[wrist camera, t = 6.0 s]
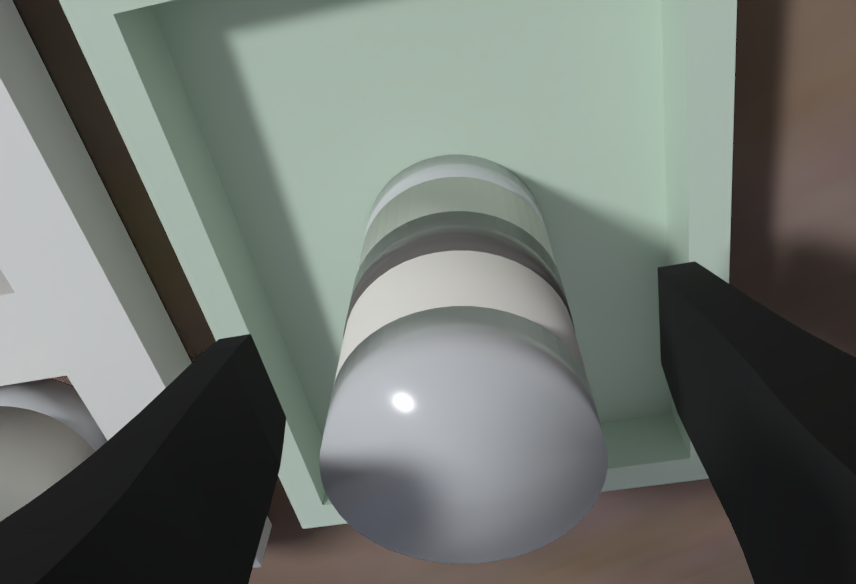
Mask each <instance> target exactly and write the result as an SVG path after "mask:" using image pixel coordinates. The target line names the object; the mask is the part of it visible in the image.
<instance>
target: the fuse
mask: <svg viewBox="0 0 856 584" xmlns="http://www.w3.org/2000/svg"><path fill="white" fill-rule="evenodd" d="M106 442H107V439H106V437H105V436H104V434H103V433H102V431H101V429H100V428H99V426H98V425H97V423H96V421H95V420H94V418H93V417H92V415H91V413H90V412H89V410H88V409H87V407H86V405H85V404H84V402H83V401H82V399H81V397H80V396H79V394H78V393H77V391H76V389H75V388H74V387H72V386H70V385H67V384H65V383H62V382H59V381H56V380H52V379H48V378H47V379H41V380H35V381H29V382H22V383H16V384H10V385H4V386H0V521H2V520H3V519H5V518H6V517H8V516H9V515H11V514H12V513H14V512H15V511H17V510H18V509H20V508H21V507H23V506H25V505H26V504H28V503H29V502H30V501H32V500H33V499H35V498H36V497H37V496H39V495H40V494H42V493H43V492H44V491H46V490H47V489H48V488H50V487H51V486H52V485H54V484H55V483H56V482H58V481H59V480H60V479H62V478H63V477H64V476H66V475H67V474H68V473H70V472H71V471H72V470H73V469H75V468H76V467H77V466H78V465H80V464H81V463H82V462H83V461H85V460H86V459H87V458H88V457H90V456H91V455H92V454H93V453H94V452H96V451H97V450H98V449H99V448H100V447H101V446H102V445H104V444H105V443H106Z"/></svg>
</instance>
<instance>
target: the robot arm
mask: <svg viewBox="0 0 856 584" xmlns="http://www.w3.org/2000/svg"><path fill="white" fill-rule="evenodd" d="M658 296H659V324H660V352H661V365H662V368H663V371H664V374H665V377H666V380H667V383H668V387H669V390H670V393H671V396H672V399H673V401H674V404H675V407H676V410H677V413H678V415H679V417H680V419H681V421H682V424H683V426H684V428H685V430H686V432H687V434H688V436H689V438H690V440H691V442H692V444H693V447H694V449H695V451H696V453H697V455H698V457H699V459H700V461H701V463H702V465H703V467H704V469H705V471H706V473H707V475H708V477H709V479H710V481H711V483H712V485H713V487H714V490H715V492H716V494H717V496H718V498H719V500H720V502H721V504H722V506H723V508H724V510H725V512H726V514H727V516H728V518H729V520H730V522H731V524H732V527H733V529H734V531H735V534H736V536H737V538H738V541H739V543H740V545H741V548H742V550H743V553H744V556H745V558H746V561H747V564H748V566H749V569H750V572H751V575H752V577H753V580H754V583H755V584H856V358H855V357H853V356H851V355H849V354H847V353H845V352H843V351H841V350H839V349H837V348H835V347H834V346H832V345H830V344H828V343H826V342H824V341H822V340H821V339H819V338H817V337H815V336H813V335H811V334H809V333H808V332H806V331H804V330H802V329H800V328H799V327H797V326H795V325H794V324H792V323H790V322H788V321H787V320H785V319H783V318H782V317H780V316H778V315H777V314H775V313H773V312H772V311H770V310H769V309H767V308H765V307H764V306H762V305H761V304H759V303H757V302H756V301H754V300H753V299H751V298H750V297H748V296H747V295H745V294H744V293H742V292H741V291H739V290H738V289H736V288H735V287H733V286H731V285H730V284H728V283H727V282H726V281H724V280H723V279H721V278H720V277H718V276H717V275H715V274H714V273H712V272H711V271H709V270H708V269H706V268H705V267H703V266H702V265H700V264H698V263H697V262H695V261H694V262H688V263H682V264H676V265H670V266H664V267H658ZM285 425H286V415H285V413H284V411H283V408H282V406H281V404H280V401H279V399H278V397H277V394H276V392H275V390H274V387H273V385H272V383H271V380H270V378H269V376H268V373H267V371H266V368H265V366H264V364H263V361H262V359H261V357H260V354H259V352H258V350H257V347H256V345H255V343H254V340H253V338H252V336H251V334H247V335H241V336H235V337H229V338H223V339H219V340H217V341H216V342H215V343H214V344H212V345H211V346H210V347H209V348H208V349H207V350H205V351H204V352H203V353H202V354H201V355H200V356H199V357H198V358H197V359H196V360H194V361H193V362H192V363H191V364H190V365H189V366H188V367H187V368H186V369H185V370H184V371H183V372H182V373H181V374H180V375H179V376H178V377H177V378H176V379H175V380H173V381H172V382H171V383H170V384H169V385H168V386H167V387H166V388H165V389H164V390H163V391H162V392H161V393H160V394H159V395H158V396H157V397H156V398H155V399H153V400H152V401H151V402H150V403H149V404H148V405H147V406H146V407H145V408H144V409H143V410H142V411H141V412H140V413H139V414H138V415H136V416H135V417H134V418H133V419H132V420H131V421H130V422H128V423H127V424H126V425H125V426H124V427H123V428H122V429H121V430H119V431H118V432H117V433H116V434H115V435H114V436H113V437H111V438H110V439H109V440H108V441H107V442H106V443H105V444H104V445H102V446H101V447H100V448H99V449H98V450H97V451H96V452H94V453H93V454H92V455H91V456H90V457H88V458H87V459H86V460H85V461H83V462H82V463H81V464H80V465H78V466H77V467H76V468H75V469H73V470H72V471H71V472H70V473H68V474H67V475H66V476H64V477H63V478H62V479H60V480H59V481H58V482H56V483H55V484H54V485H52V486H51V487H50V488H48V489H47V490H46V491H44V492H43V493H42V494H40V495H39V496H37V497H36V498H35V499H33V500H32V501H30V502H29V503H28V504H26V505H25V506H23V507H21V508H20V509H18V510H17V511H15V512H14V513H12V514H11V515H9V516H8V517H6V518H5V519H3V520H2V521H0V584H248V583H249V578H250V575H251V571H252V568H253V564H254V560H255V557H256V553H257V550H258V546H259V543H260V539H261V535H262V532H263V528H264V525H265V521H266V518H267V514H268V511H269V507H270V503H271V500H272V496H273V492H274V488H275V485H276V481H277V477H278V473H279V469H280V465H281V458H282V451H283V443H284V434H285Z"/></svg>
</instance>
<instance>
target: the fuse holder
mask: <svg viewBox="0 0 856 584" xmlns="http://www.w3.org/2000/svg"><path fill="white" fill-rule="evenodd" d="M191 363H192V362H191V360H190V358H189V356H188V354H187V352H186V350H185V348H184V346H183V344H182V342H181V340H180V338H179V336H178V334H177V332H176V330H175V328H174V326H173V324H172V322H171V320H170V318H169V316H168V314H167V312H166V310H165V308H164V306H163V304H162V302H161V300H160V298H159V296H158V294H157V292H156V290H155V288H154V286H153V284H152V282H151V280H150V277H149V275H148V273H147V271H146V269H145V267H144V265H143V263H142V261H141V259H140V257H139V255H138V253H137V251H136V249H135V247H134V245H133V243H132V241H131V239H130V237H129V235H128V233H127V231H126V229H125V227H124V225H123V223H122V221H121V219H120V217H119V215H118V213H117V211H116V209H115V207H114V205H113V203H112V201H111V199H110V197H109V195H108V193H107V191H106V189H105V187H104V185H103V183H102V181H101V179H100V177H99V174H98V172H97V170H96V168H95V166H94V164H93V162H92V160H91V158H90V156H89V154H88V152H87V150H86V148H85V146H84V144H83V142H82V140H81V138H80V136H79V134H78V132H77V130H76V128H75V126H74V124H73V122H72V120H71V118H70V116H69V114H68V112H67V110H66V108H65V106H64V104H63V102H62V100H61V98H60V96H59V94H58V92H57V90H56V88H55V86H54V84H53V82H52V80H51V78H50V76H49V73H48V71H47V69H46V67H45V65H44V63H43V61H42V59H41V57H40V55H39V53H38V51H37V49H36V47H35V45H34V43H33V41H32V39H31V37H30V35H29V33H28V31H27V29H26V27H25V25H24V23H23V21H22V19H21V17H20V15H19V13H18V11H17V9H16V7H15V5H14V3H13V1H12V0H0V386H4V385H10V384H16V383H22V382H29V381H35V380H41V379H47V378H54V377H60V376H66V375H67V377H68V378H69V380H70V381H71V383H72V385H73V386H74V388H75V389H76V391H77V393H78V394H79V396H80V397H81V399H82V401H83V402H84V404H85V405H86V407H87V409H88V410H89V412H90V413H91V415H92V417H93V418H94V420H95V421H96V423H97V425H98V426H99V428H100V429H101V431H102V433H103V434H104V436H105V437H106V439H107V441H108V440H109V439H110V438H111V437H113V436H114V435H115V434H116V433H117V432H118V431H119V430H121V429H122V428H123V427H124V426H125V425H126V424H127V423H128V422H130V421H131V420H132V419H133V418H134V417H135V416H136V415H138V414H139V413H140V412H141V411H142V410H143V409H144V408H145V407H146V406H147V405H148V404H149V403H150V402H151V401H152V400H153V399H155V398H156V397H157V396H158V395H159V394H160V393H161V392H162V391H163V390H164V389H165V388H166V387H167V386H168V385H169V384H170V383H171V382H172V381H173V380H175V379H176V378H177V377H178V376H179V375H180V374H181V373H182V372H183V371H184V370H185V369H186V368H187V367H188V366H189V365H190V364H191ZM271 527H272V524H271V522H270V520H269V518H268V516H267V518H266V521H265V525H264V528H263V532H262V535H261V539H260V543H259V546H258V550H257V553H256V557H255V560H254V564H253V568H256V567H261V566H262V562H263V558H264V554H265V550H266V547H267V543H268V539H269V535H270V531H271Z"/></svg>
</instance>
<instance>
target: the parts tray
mask: <svg viewBox="0 0 856 584" xmlns="http://www.w3.org/2000/svg"><path fill="white" fill-rule="evenodd" d="M59 2H60V4H61V6H62V8H63V10H64V13H65V15H66V17H67V19H68V21H69V23H70V26H71V28H72V30H73V32H74V34H75V36H76V39H77V41H78V43H79V45H80V47H81V49H82V52H83V54H84V56H85V58H86V60H87V62H88V65H89V67H90V69H91V71H92V73H93V75H94V78H95V80H96V82H97V84H98V86H99V88H100V91H101V93H102V95H103V97H104V99H105V101H106V104H107V106H108V108H109V110H110V112H111V114H112V117H113V119H114V121H115V123H116V125H117V127H118V130H119V132H120V134H121V136H122V138H123V140H124V143H125V145H126V147H127V149H128V151H129V153H130V156H131V158H132V160H133V162H134V164H135V166H136V169H137V171H138V173H139V175H140V177H141V179H142V182H143V184H144V186H145V188H146V190H147V192H148V195H149V197H150V199H151V201H152V203H153V205H154V208H155V210H156V212H157V214H158V216H159V218H160V221H161V223H162V225H163V227H164V229H165V231H166V234H167V236H168V238H169V240H170V242H171V244H172V247H173V249H174V251H175V253H176V255H177V257H178V260H179V262H180V264H181V266H182V268H183V270H184V273H185V275H186V277H187V279H188V281H189V283H190V286H191V288H192V290H193V292H194V294H195V296H196V299H197V301H198V303H199V305H200V307H201V310H202V312H203V314H204V316H205V318H206V320H207V323H208V325H209V327H210V329H211V331H212V333H213V336H214V338H215V340H216V341H217V340H219V339H223V338H229V337H235V336H241V335H247V334H251V336H252V338H253V340H254V343H255V345H256V347H257V350H258V352H259V354H260V357H261V359H262V361H263V364H264V366H265V368H266V371H267V373H268V376H269V378H270V380H271V383H272V385H273V387H274V390H275V392H276V394H277V397H278V399H279V401H280V404H281V406H282V408H283V411H284V413H285V415H286V425H285V434H284V443H283V451H282V458H281V465H280V469H279V473H278V476H279V479H280V481H281V483H282V485H283V487H284V489H285V492H286V494H287V496H288V498H289V500H290V502H291V505H292V507H293V509H294V511H295V513H296V515H297V518H298V520H299V522H300V524H301V526H302V528H303V529H306V528H314V527H322V526H330V525H338V524H346V523H347V522H346V521H345V520H344V519H343V518H342V517H341V516H340V515H339V513H338V512H337V510H336V509H335V508H334V506H333V505H332V504H331V502H330V500H329V498H328V496H327V494H326V492H325V489H324V486H323V483H322V480H321V475H320V467H319V460H320V449H321V444H322V439H323V435H324V430H325V425H326V420H327V415H328V411H329V406H330V401H331V396H332V391H333V386H334V382H335V377H336V372H337V367H338V362H339V358H340V353H341V348H342V343H343V333H344V328H345V323H346V318H347V314H348V309H349V304H350V299H351V295H352V290H353V285H354V281H355V277H356V275H357V271H358V266H359V261H360V257H361V252H362V247H363V242H364V237H365V232H366V228H367V223H368V219H369V214H370V211H371V209H372V206H373V204H374V202H375V200H376V198H377V196H378V195H379V193H380V192H381V190H382V189H383V188H384V187H385V185H386V184H387V183H388V182H389V181H390V180H391V179H392V178H393V177H394V176H396V175H397V174H398V173H400V172H401V171H402V170H404V169H406V168H407V167H409V166H411V165H413V164H415V163H417V162H420V161H422V160H425V159H428V158H432V157H436V156H442V155H450V154H463V155H471V156H477V157H481V158H485V159H488V160H490V161H493V162H495V163H498V164H500V165H501V166H503V167H505V168H507V169H508V170H510V171H511V172H512V173H514V174H515V175H517V176H518V177H519V178H520V179H521V180H522V181H523V182H524V183H525V184H526V185H527V187H528V188H529V189H530V191H531V192H532V193H533V195H534V197H535V199H536V201H537V203H538V205H539V208H540V211H541V213H542V217H543V220H544V224H545V228H546V231H547V235H548V238H549V242H550V245H551V249H552V253H553V256H554V260H555V263H556V267H557V269H558V272H559V275H560V277H561V281H562V284H563V288H564V291H565V295H566V298H567V302H568V305H569V309H570V312H571V316H572V319H573V324H574V329H575V335H576V338H577V342H578V345H579V349H580V352H581V356H582V360H583V363H584V367H585V370H586V374H587V377H588V381H589V385H590V388H591V392H592V395H593V399H594V402H595V406H596V410H597V413H598V417H599V420H600V424H601V427H602V431H603V435H604V438H605V442H606V448H607V453H608V468H607V474H606V479H605V482H604V485H603V488H602V491H601V492H604V491H612V490H620V489H628V488H637V487H645V486H653V485H661V484H669V483H677V482H685V481H693V480H701V479H709V477H708V475H707V473H706V471H705V469H704V467H703V465H702V463H701V461H700V459H699V457H698V455H697V453H696V451H695V449H694V447H693V444H692V442H691V440H690V438H689V436H688V434H687V432H686V430H685V428H684V426H683V424H682V421H681V419H680V417H679V415H678V413H677V410H676V407H675V404H674V401H673V399H672V396H671V393H670V390H669V387H668V383H667V380H666V377H665V374H664V371H663V368H662V365H661V352H660V324H659V296H658V267H664V266H670V265H676V264H682V263H688V262H694V261H695V262H697V263H698V264H700V265H702V266H703V267H705V268H706V269H708V270H709V271H711V272H712V273H714V274H715V275H717V276H718V277H720V278H721V279H723V280H724V281H726V282H727V283H728V284H729V265H730V230H731V195H732V160H733V125H734V90H735V55H736V20H737V0H59Z"/></svg>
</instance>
